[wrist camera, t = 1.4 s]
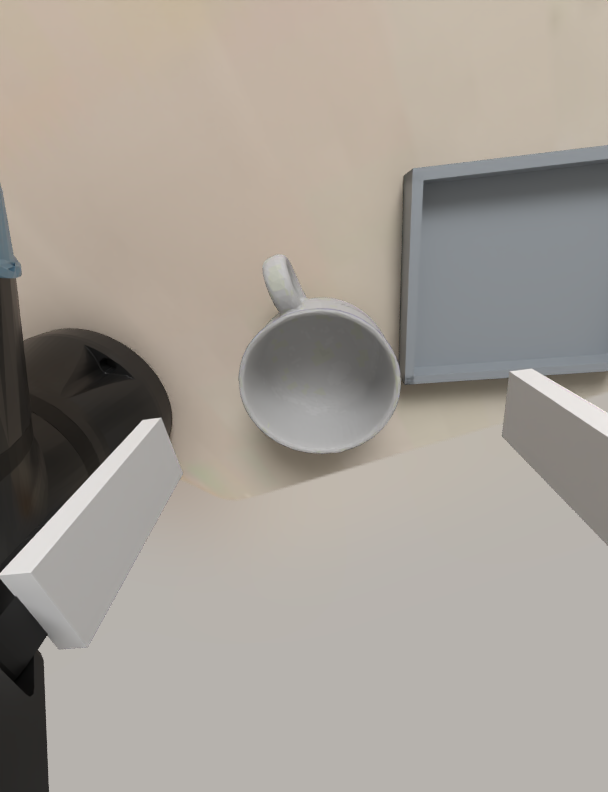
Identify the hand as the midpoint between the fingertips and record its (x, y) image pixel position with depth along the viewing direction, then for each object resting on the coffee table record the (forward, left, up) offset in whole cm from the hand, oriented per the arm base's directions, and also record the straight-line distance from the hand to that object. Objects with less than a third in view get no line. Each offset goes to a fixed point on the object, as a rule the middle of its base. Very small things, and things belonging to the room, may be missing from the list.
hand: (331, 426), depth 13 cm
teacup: (-1, -1, -17) cm, 17 cm away
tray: (+15, +3, -17) cm, 23 cm away
